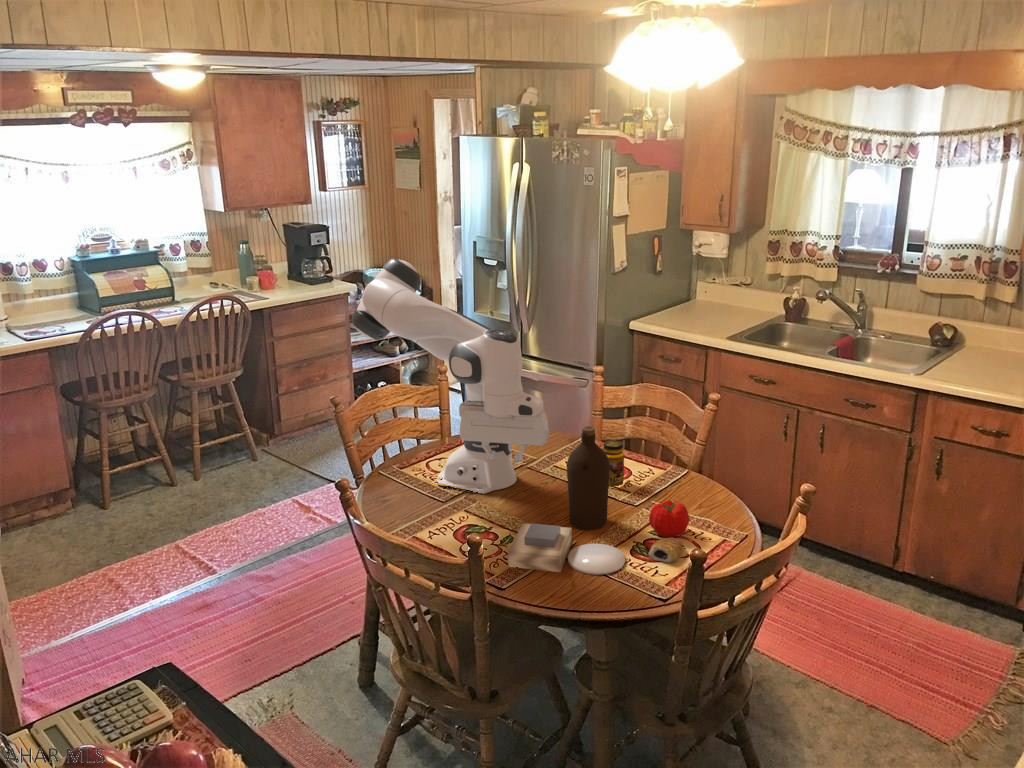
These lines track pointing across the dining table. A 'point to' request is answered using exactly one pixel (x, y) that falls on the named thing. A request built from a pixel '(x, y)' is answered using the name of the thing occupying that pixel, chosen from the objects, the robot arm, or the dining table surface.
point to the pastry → (666, 550)
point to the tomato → (669, 519)
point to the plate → (596, 559)
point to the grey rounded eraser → (542, 535)
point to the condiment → (615, 462)
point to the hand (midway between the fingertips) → (504, 460)
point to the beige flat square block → (539, 552)
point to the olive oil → (588, 483)
